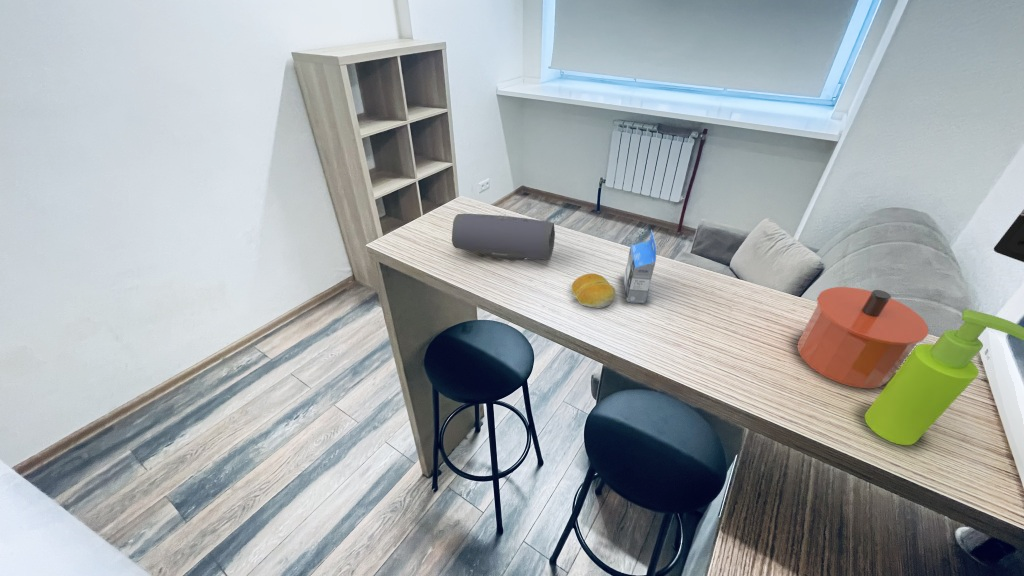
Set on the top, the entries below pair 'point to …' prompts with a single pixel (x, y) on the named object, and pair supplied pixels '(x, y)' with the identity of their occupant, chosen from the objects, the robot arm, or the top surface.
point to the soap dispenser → (932, 379)
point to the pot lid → (872, 315)
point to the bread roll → (593, 291)
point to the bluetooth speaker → (503, 236)
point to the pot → (848, 354)
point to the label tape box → (640, 270)
